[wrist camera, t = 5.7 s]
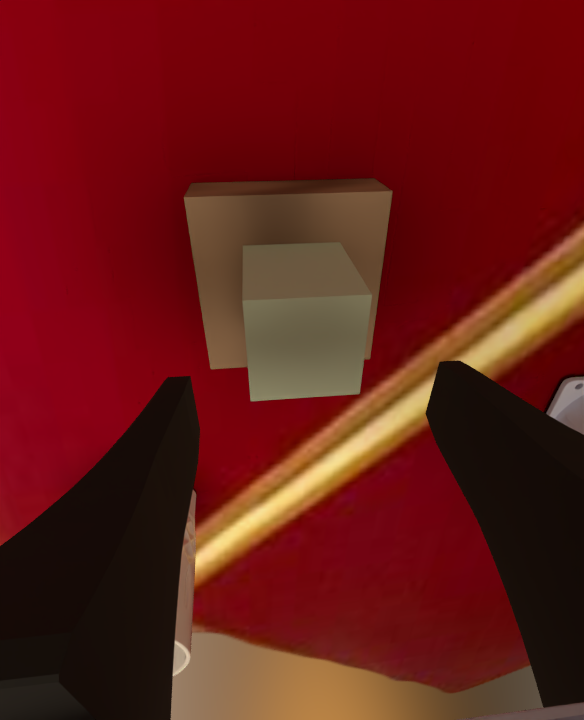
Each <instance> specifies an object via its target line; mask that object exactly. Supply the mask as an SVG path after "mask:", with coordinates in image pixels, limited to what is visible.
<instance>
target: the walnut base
mask: <svg viewBox="0 0 584 720" xmlns="http://www.w3.org/2000/svg"><path fill="white" fill-rule="evenodd" d="M391 198H392V191H391V190H390V189H389V188H387V187H386V186H384V185H383V184H382V183H380V182H379V181H377V180H376V179H375V178H370V179H332V180H294V181H257V182H219V183H191V185H190V187H189V189H188V190H187V192H186V194H185V196H184V202H185V208H186V214H187V221H188V227H189V234H190V240H191V246H192V253H193V259H194V265H195V272H196V278H197V285H198V291H199V297H200V304H201V310H202V317H203V323H204V329H205V336H206V342H207V349H208V355H209V361H210V368H211V369H222V368H238V367H248V362H247V350H246V338H245V326H244V314H243V302H242V283H243V246H245V245H274V244H302V243H330V242H340V243H341V245H342V246H343V248H344V250H345V251H346V253H347V255H348V256H349V258H350V259H351V261H352V263H353V264H354V266H355V268H356V269H357V271H358V272H359V274H360V276H361V277H362V279H363V280H364V282H365V284H366V285H367V287H368V289H369V290H370V292H371V293H372V300H371V308H370V316H369V324H368V332H367V340H366V347H365V355H364V359H370V355H371V347H372V340H373V332H374V325H375V317H376V310H377V302H378V295H379V288H380V280H381V273H382V265H383V258H384V250H385V243H386V235H387V228H388V221H389V213H390V206H391Z"/></svg>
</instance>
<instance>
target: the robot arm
mask: <svg viewBox="0 0 584 720" xmlns="http://www.w3.org/2000/svg"><path fill="white" fill-rule="evenodd" d="M426 416H427V419H428V422H429V425H430V428H431V430H432V433H433V436H434V438H435V441H436V443H437V445H438V447H439V449H440V451H441V453H442V455H443V457H444V459H445V460H446V462H447V464H448V466H449V468H450V470H451V472H452V474H453V475H454V477H455V479H456V481H457V483H458V485H459V486H460V488H461V490H462V492H463V494H464V496H465V497H466V499H467V501H468V503H469V505H470V507H471V509H472V510H473V513H474V515H475V517H476V519H477V521H478V523H479V525H480V527H481V530H482V532H483V534H484V537H485V539H486V542H487V544H488V546H489V549H490V551H491V554H492V556H493V559H494V561H495V564H496V566H497V569H498V572H499V574H500V577H501V579H502V582H503V585H504V587H505V590H506V592H507V595H508V598H509V601H510V604H511V607H512V609H513V612H514V615H515V618H516V621H517V624H518V627H519V630H520V632H521V635H522V638H523V642H524V645H525V648H526V651H527V654H528V658H529V661H530V664H531V667H532V670H533V673H534V677H535V680H536V683H537V687H538V690H539V693H540V697H541V701H542V704H543V707H544V708H539V709H532V710H524V711H517V712H509V713H503V714H495V715H488V716H480V717H473V718H466V719H459V720H584V377H572V378H567V379H565V380H564V381H563V382H562V384H561V385H560V387H559V389H558V391H557V393H556V395H555V397H554V399H553V401H552V403H551V405H550V407H549V409H548V411H547V413H546V414H545V413H544V412H542V411H540V410H539V409H537V408H535V407H534V406H532V405H530V404H529V403H527V402H525V401H524V400H522V399H521V398H519V397H517V396H516V395H514V394H513V393H511V392H510V391H508V390H506V389H505V388H503V387H502V386H500V385H499V384H497V383H496V382H494V381H492V380H491V379H489V378H488V377H486V376H485V375H483V374H482V373H480V372H478V371H477V370H475V369H474V368H472V367H470V366H469V365H467V364H465V363H463V362H461V361H444V362H439V366H438V370H437V373H436V377H435V381H434V384H433V388H432V392H431V396H430V399H429V403H428V407H427V410H426ZM199 438H200V426H199V421H198V416H197V410H196V405H195V399H194V394H193V389H192V383H191V378H190V376H183V377H168V378H167V379H166V380H165V381H164V382H163V384H162V385H161V386H160V388H159V389H158V391H157V392H156V393H155V395H154V396H153V397H152V399H151V400H150V401H149V403H148V404H147V405H146V407H145V408H144V409H143V411H142V412H141V413H140V414H139V416H138V417H137V418H136V419H135V421H134V422H133V423H132V424H131V426H130V427H129V428H128V429H127V431H126V432H125V433H124V434H123V435H122V436H121V438H120V439H119V440H118V441H117V442H116V443H115V444H114V445H113V447H112V448H111V449H110V450H109V451H108V452H107V453H106V454H105V455H104V457H103V458H102V459H101V460H100V461H99V462H98V463H97V464H96V465H95V466H94V467H93V468H92V469H91V470H90V471H89V472H88V473H87V474H86V475H85V476H84V477H83V478H82V479H81V480H80V481H79V482H78V483H77V484H76V485H74V486H73V487H72V488H71V489H70V490H69V491H68V492H67V493H66V494H65V495H63V496H62V497H61V498H60V499H59V500H58V501H56V502H55V503H54V504H53V505H52V506H50V507H49V508H48V509H47V510H46V511H44V512H43V513H42V514H41V515H40V516H38V517H37V518H36V519H35V520H34V521H33V522H31V523H30V524H29V525H28V526H26V527H25V528H24V529H22V530H21V531H20V532H18V533H17V534H16V535H14V536H13V537H12V538H11V539H9V540H8V541H7V542H5V543H4V544H3V545H1V546H0V720H170V718H171V698H172V677H173V661H174V645H175V630H176V617H177V603H178V590H179V579H180V567H181V556H182V548H183V541H184V534H185V529H186V524H187V518H188V513H189V508H190V502H191V497H192V492H193V486H194V481H195V475H196V470H197V464H198V454H199Z"/></svg>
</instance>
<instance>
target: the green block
mask: <svg viewBox="0 0 584 720" xmlns="http://www.w3.org/2000/svg"><path fill="white" fill-rule="evenodd" d="M371 300H372V293H371V292H370V290H369V289H368V287H367V285H366V284H365V282H364V280H363V279H362V277H361V276H360V274H359V272H358V271H357V269H356V268H355V266H354V264H353V263H352V261H351V259H350V258H349V256H348V255H347V253H346V251H345V250H344V248H343V246H342V245H341V243H340V242H330V243H302V244H274V245H245V246H243V283H242V302H243V314H244V326H245V338H246V350H247V362H248V374H249V387H250V399H251V401H262V400H277V399H291V398H306V397H321V396H336V395H351V394H360V387H361V379H362V371H363V363H364V355H365V347H366V340H367V332H368V324H369V316H370V308H371Z"/></svg>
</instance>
